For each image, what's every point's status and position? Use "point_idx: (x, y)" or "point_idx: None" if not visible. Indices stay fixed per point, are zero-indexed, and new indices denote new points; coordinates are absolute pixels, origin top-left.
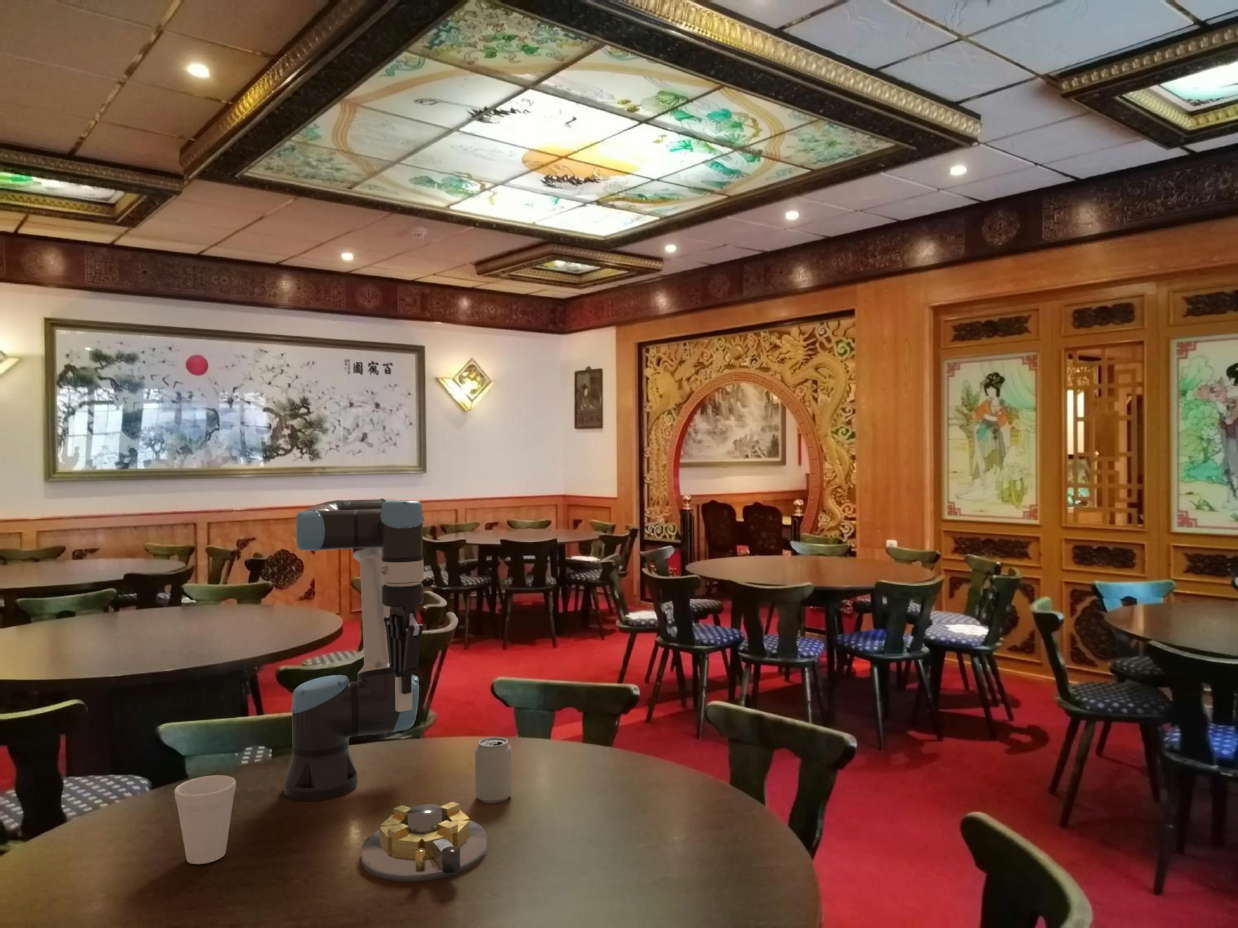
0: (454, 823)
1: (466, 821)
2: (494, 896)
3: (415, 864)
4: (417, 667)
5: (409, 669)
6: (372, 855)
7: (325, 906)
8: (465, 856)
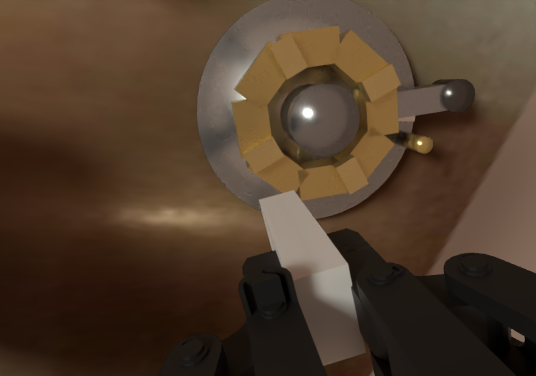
0: (385, 69)
1: (350, 36)
2: (498, 40)
3: None
4: (531, 276)
5: (507, 330)
6: (325, 205)
7: (404, 262)
8: (401, 59)
